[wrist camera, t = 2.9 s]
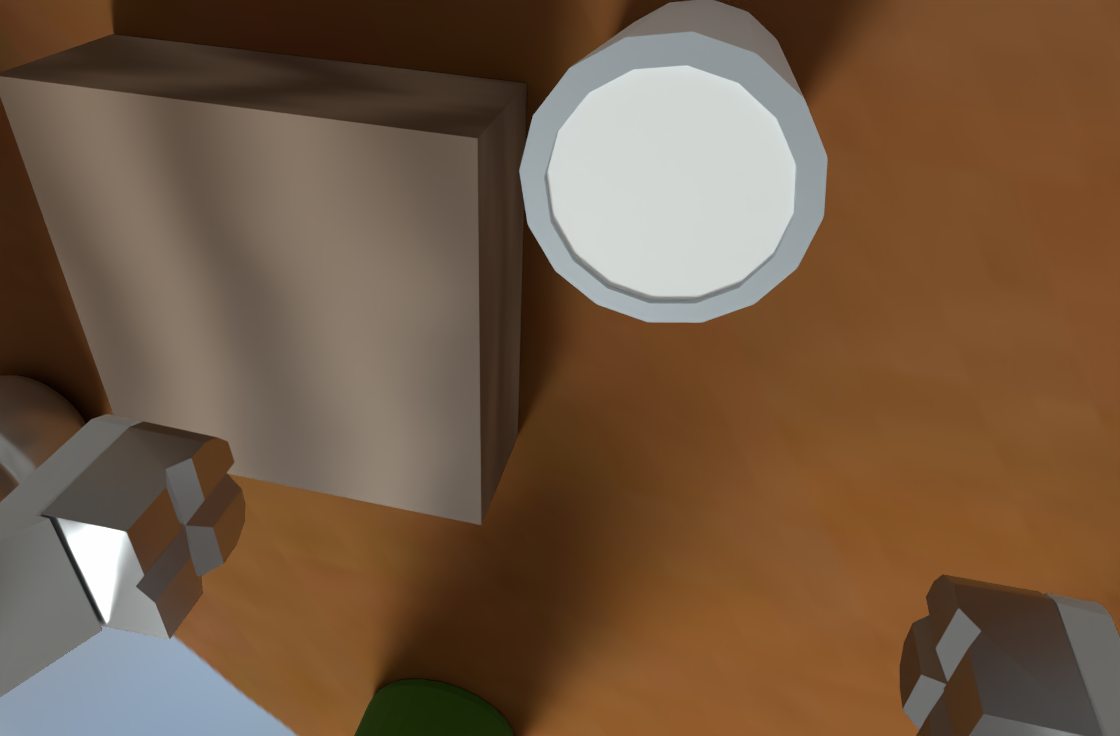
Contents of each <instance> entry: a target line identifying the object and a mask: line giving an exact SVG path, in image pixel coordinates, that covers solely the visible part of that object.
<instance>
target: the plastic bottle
mask: <svg viewBox="0 0 1120 736" xmlns="http://www.w3.org/2000/svg"><path fill="white" fill-rule="evenodd" d="M85 425H86V423H85V421H84V419H83V418H82V416H81V415H80V414H79V412H78V411H77V410H76V409H75V408H74V406H73V405H72V404H71V403H70V402H69V401H68V400H66V399H65V398H64V397H63V396H62V395H60V394H59V393H58V392H56V391H55V390H53V389H52V388H50V387H49V386H47V385H45V384H43V383H41V382H39V381H36V380H33V379H31V378H28V377H23V376H18V375H3V376H0V502H1V501H2V500H3V499H4V498H6V497H7V496H8V495H9V494H10V493H11V492H12V491H13V490H14V489H15V488H17V487H18V486H19V485H20V484H21V483H22V482H23V481H24V480H25V479H26V478H28V477H29V476H30V475H31V474H32V473H33V472H34V471H35V470H36V469H37V468H38V467H40V466H41V465H42V464H43V463H44V462H45V461H46V460H47V459H48V458H49V457H51V456H52V455H53V454H54V453H55V452H56V451H57V450H58V449H59V448H60V447H62V446H63V445H64V444H65V443H66V442H67V441H68V440H69V439H70V438H71V437H73V436H74V435H75V434H76V433H77V432H78V431H79V430H80V429H81V428H82V427H84V426H85Z"/></svg>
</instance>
